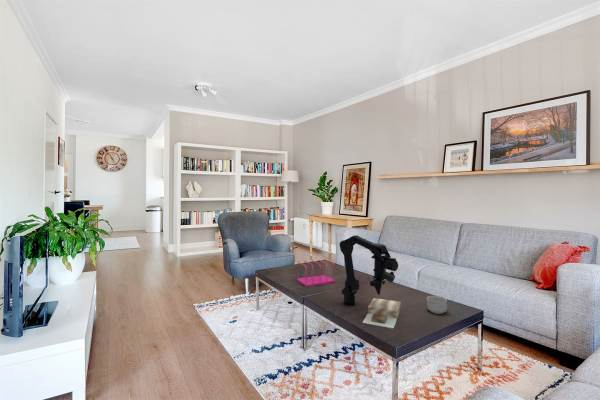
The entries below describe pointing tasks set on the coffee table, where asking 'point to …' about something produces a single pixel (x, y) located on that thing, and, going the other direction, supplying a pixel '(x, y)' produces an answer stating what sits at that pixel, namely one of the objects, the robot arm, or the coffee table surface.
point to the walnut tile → (379, 318)
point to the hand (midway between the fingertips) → (378, 294)
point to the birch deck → (384, 307)
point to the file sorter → (315, 279)
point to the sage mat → (389, 323)
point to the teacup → (437, 304)
